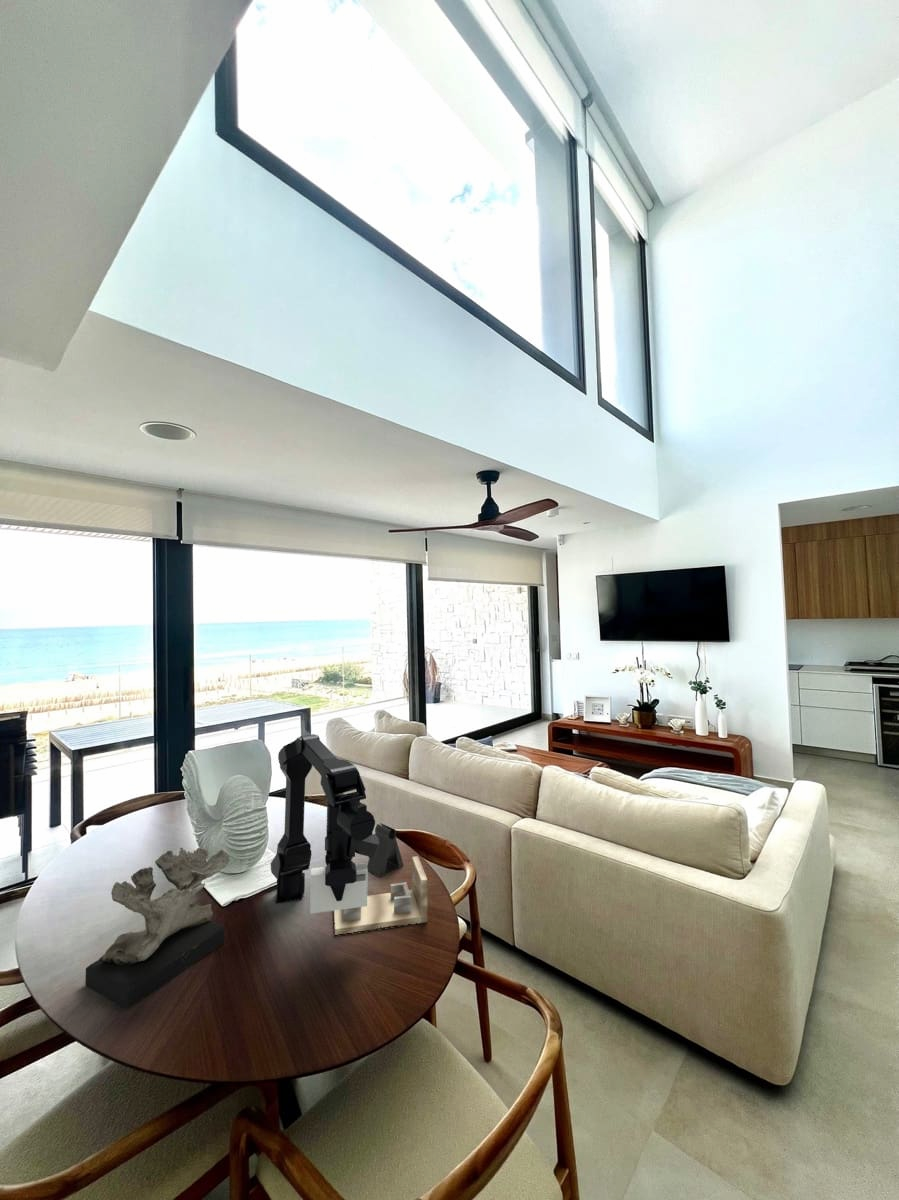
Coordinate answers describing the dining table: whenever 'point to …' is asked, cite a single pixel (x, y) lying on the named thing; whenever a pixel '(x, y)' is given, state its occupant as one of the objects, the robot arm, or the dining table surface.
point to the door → (352, 895)
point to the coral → (159, 929)
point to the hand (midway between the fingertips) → (338, 896)
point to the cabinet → (388, 906)
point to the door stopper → (385, 852)
